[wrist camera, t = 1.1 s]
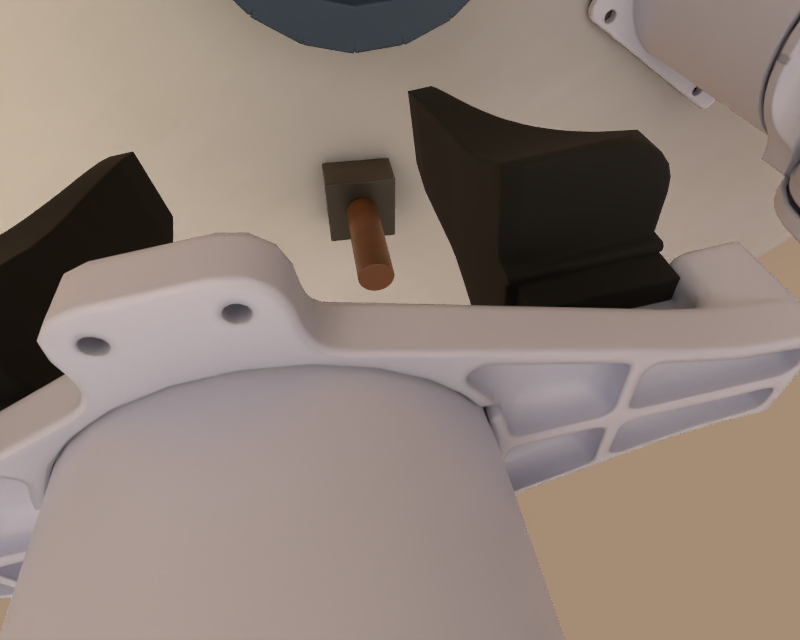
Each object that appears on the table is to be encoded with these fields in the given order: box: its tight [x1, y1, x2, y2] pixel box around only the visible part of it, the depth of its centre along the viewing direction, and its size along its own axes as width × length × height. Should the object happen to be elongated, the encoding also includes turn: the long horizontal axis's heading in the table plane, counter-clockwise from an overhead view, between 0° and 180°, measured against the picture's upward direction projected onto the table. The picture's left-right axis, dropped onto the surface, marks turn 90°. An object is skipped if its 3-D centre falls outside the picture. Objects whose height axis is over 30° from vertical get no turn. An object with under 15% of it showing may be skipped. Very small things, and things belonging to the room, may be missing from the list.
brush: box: [322, 158, 395, 290], centre depth 23 cm, size 3×3×7 cm
